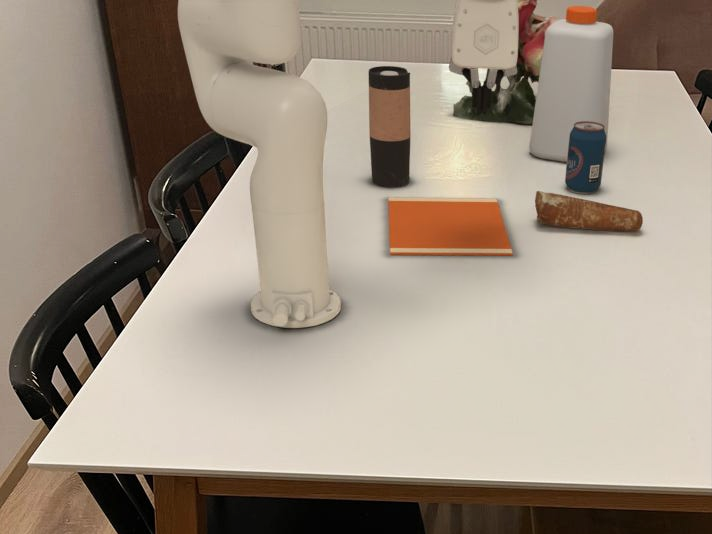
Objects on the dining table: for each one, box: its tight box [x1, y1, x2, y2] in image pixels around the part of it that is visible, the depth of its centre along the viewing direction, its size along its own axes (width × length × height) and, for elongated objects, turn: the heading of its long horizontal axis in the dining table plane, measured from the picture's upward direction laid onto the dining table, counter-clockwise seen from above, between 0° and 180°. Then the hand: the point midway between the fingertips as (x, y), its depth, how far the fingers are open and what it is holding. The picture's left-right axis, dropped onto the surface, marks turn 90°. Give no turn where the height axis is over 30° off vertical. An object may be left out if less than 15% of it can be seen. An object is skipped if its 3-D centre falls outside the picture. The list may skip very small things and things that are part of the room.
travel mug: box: [368, 65, 412, 188], centre depth 172 cm, size 8×8×20 cm
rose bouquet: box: [452, 0, 562, 125], centre depth 216 cm, size 26×29×30 cm
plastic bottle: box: [528, 5, 614, 163], centre depth 190 cm, size 15×15×28 cm
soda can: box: [564, 121, 608, 195], centre depth 176 cm, size 7×7×12 cm
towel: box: [388, 196, 514, 257], centre depth 161 cm, size 26×20×1 cm
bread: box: [534, 190, 644, 232], centre depth 161 cm, size 6×19×6 cm, turn 82°
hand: (480, 112), depth 149 cm, fingers closed
